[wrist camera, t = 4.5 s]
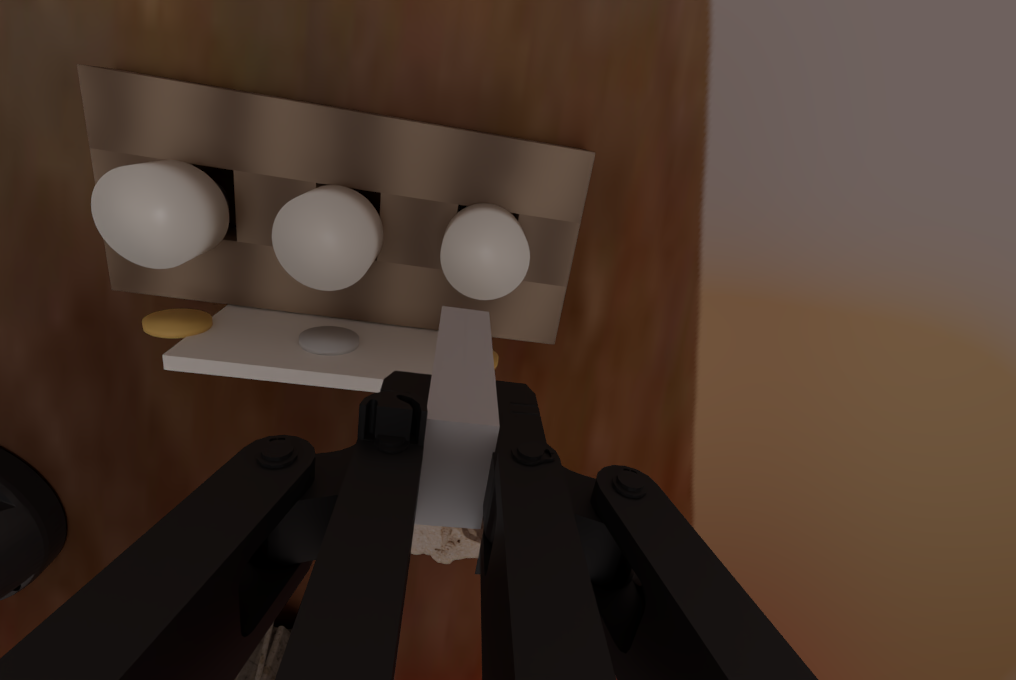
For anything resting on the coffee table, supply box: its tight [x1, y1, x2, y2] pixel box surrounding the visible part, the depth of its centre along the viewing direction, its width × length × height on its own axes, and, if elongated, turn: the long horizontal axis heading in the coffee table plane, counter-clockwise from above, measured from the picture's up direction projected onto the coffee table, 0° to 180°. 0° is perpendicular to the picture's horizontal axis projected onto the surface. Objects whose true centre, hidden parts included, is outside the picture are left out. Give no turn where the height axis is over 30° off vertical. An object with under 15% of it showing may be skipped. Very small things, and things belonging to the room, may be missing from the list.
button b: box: [272, 185, 383, 291], centre depth 27 cm, size 5×5×6 cm
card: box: [142, 304, 499, 393], centre depth 30 cm, size 19×1×10 cm, turn 81°
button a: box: [91, 160, 230, 269], centre depth 26 cm, size 5×5×6 cm
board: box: [77, 64, 595, 344], centre depth 31 cm, size 27×12×3 cm, turn 81°
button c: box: [440, 203, 530, 300], centre depth 30 cm, size 5×5×6 cm
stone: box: [411, 520, 484, 564], centre depth 40 cm, size 9×11×5 cm
